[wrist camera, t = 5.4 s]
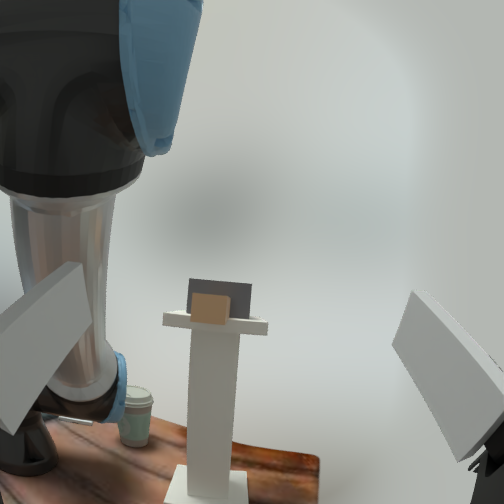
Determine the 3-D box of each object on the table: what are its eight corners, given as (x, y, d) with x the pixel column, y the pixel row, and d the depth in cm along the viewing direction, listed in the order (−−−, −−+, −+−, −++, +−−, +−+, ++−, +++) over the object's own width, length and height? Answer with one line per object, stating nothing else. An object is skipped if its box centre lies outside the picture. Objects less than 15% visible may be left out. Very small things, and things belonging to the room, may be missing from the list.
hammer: (254, 327, 24) (258, 275, 25) (162, 318, 24) (166, 266, 24) (247, 316, 43) (249, 286, 43) (194, 311, 42) (196, 282, 43)
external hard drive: (97, 408, 58) (92, 428, 46) (69, 403, 55) (59, 422, 43) (97, 402, 58) (91, 422, 47) (68, 397, 55) (58, 416, 44)
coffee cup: (114, 430, 48) (112, 382, 50) (152, 433, 51) (151, 386, 53) (114, 449, 40) (110, 396, 42) (156, 451, 43) (155, 400, 45)
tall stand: (248, 517, 27) (268, 322, 32) (164, 508, 26) (163, 312, 31) (245, 477, 38) (260, 317, 44) (177, 470, 38) (182, 310, 43)
